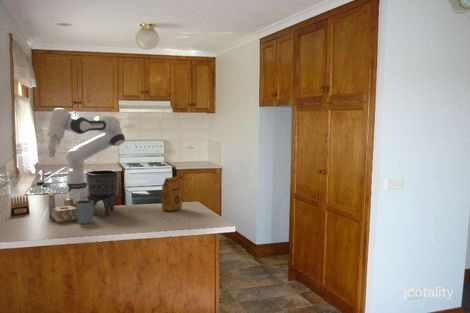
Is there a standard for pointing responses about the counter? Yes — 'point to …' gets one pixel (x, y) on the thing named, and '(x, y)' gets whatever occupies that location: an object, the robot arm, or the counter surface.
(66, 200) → the thick bronze bit
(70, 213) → the socket block
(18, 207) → the ammunition clip
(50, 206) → the steel bit
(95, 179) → the planter
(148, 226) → the counter surface
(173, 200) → the coffee package
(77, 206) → the blue-grey cup
